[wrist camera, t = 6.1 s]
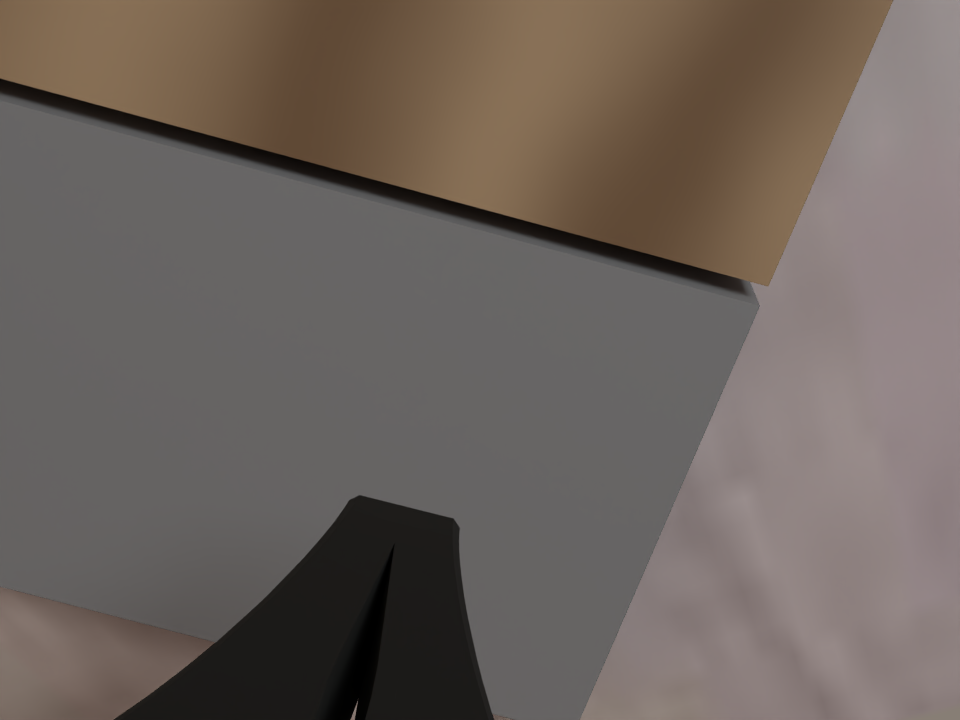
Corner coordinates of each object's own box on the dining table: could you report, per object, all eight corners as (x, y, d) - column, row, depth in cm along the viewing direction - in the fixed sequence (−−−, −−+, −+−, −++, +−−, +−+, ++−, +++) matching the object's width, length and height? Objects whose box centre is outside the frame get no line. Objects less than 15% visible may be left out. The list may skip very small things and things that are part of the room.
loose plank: (742, 266, 18) (760, 306, 17) (574, 672, 24) (573, 734, 22) (-27, 57, 18) (-93, 75, 16) (-16, 519, 24) (-64, 570, 22)
